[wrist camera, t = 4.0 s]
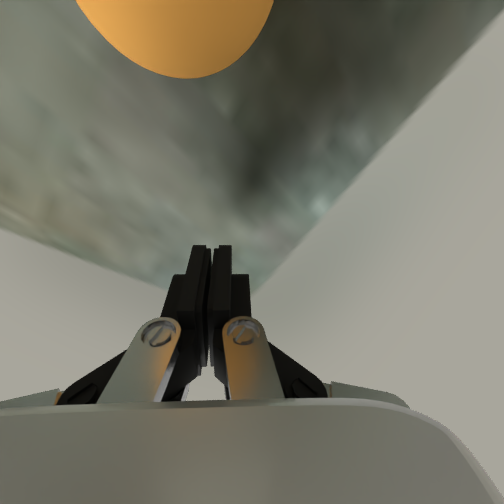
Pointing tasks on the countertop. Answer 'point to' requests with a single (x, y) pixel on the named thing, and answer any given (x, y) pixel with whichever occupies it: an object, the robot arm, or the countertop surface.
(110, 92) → the countertop surface
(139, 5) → the ball
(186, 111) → the countertop surface
